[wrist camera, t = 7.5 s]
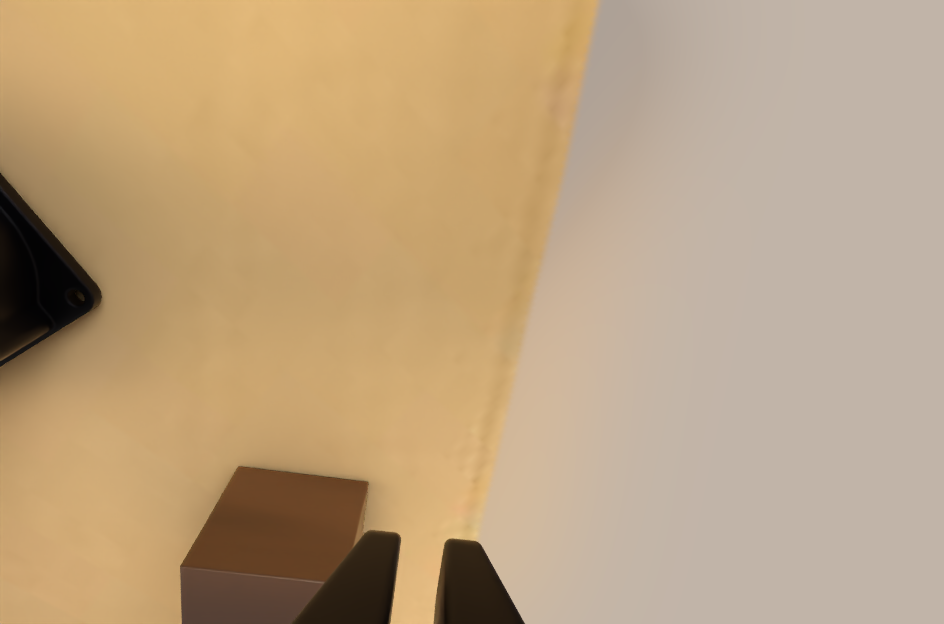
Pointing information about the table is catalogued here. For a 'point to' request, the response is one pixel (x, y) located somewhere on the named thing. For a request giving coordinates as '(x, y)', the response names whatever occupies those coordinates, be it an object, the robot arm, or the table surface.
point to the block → (270, 546)
